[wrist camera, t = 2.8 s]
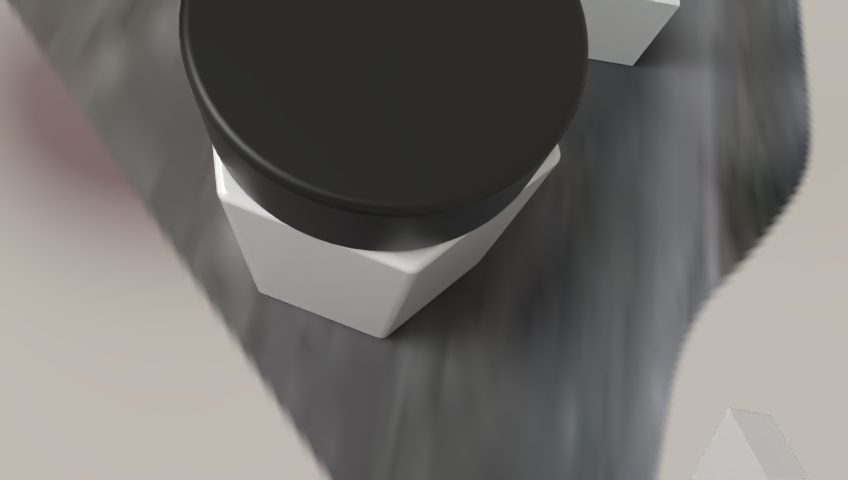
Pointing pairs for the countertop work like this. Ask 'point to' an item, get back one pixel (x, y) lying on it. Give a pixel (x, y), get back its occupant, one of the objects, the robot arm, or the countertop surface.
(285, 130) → the jar
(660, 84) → the countertop surface
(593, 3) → the acrylic wall
